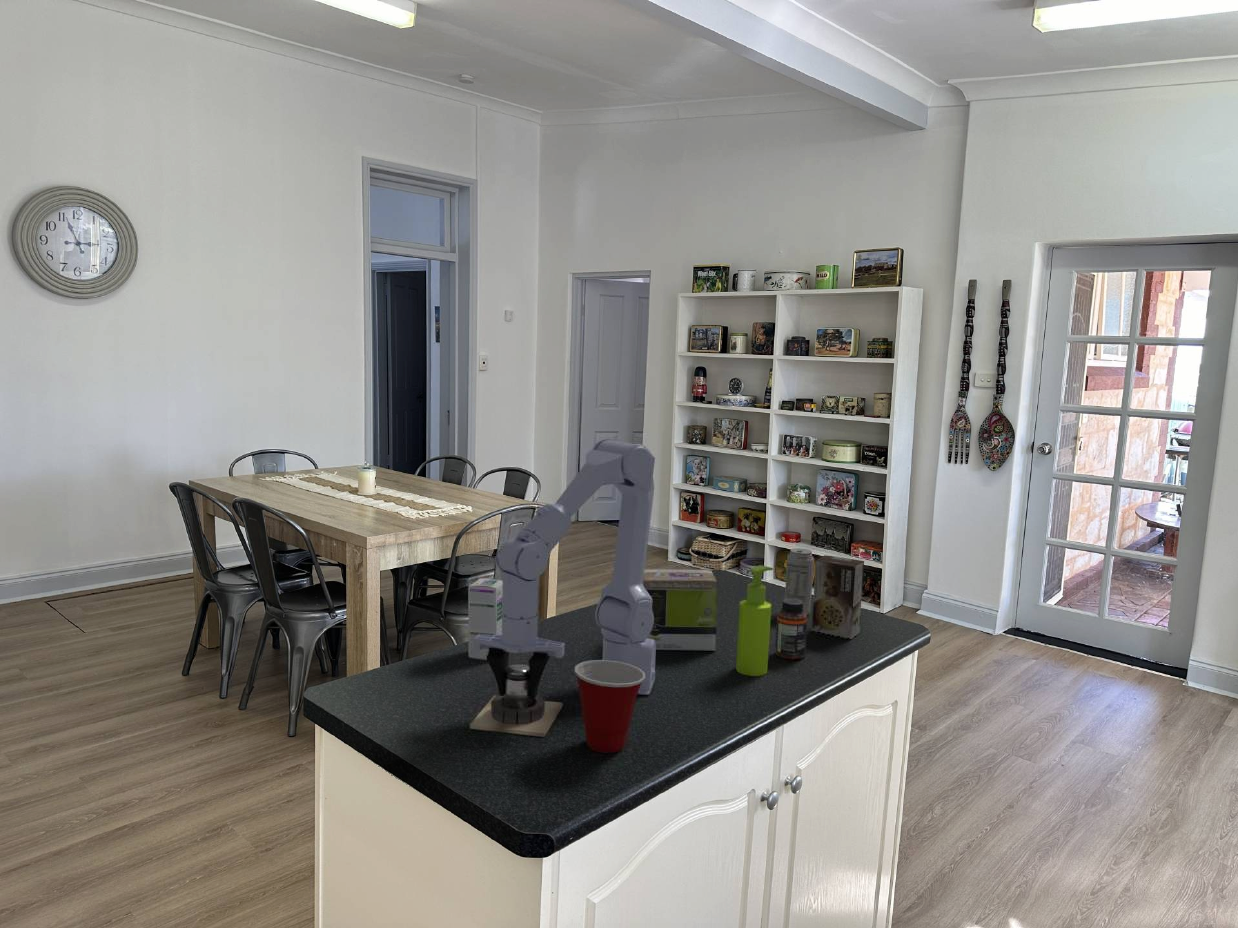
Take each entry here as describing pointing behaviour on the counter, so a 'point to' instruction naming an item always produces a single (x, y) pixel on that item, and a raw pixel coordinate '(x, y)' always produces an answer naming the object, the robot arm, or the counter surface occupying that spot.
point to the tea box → (683, 608)
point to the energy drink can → (800, 577)
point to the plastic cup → (607, 701)
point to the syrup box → (484, 612)
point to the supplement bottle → (791, 630)
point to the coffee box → (837, 596)
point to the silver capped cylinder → (517, 687)
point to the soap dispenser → (754, 627)
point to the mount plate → (517, 729)
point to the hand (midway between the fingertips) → (518, 695)
